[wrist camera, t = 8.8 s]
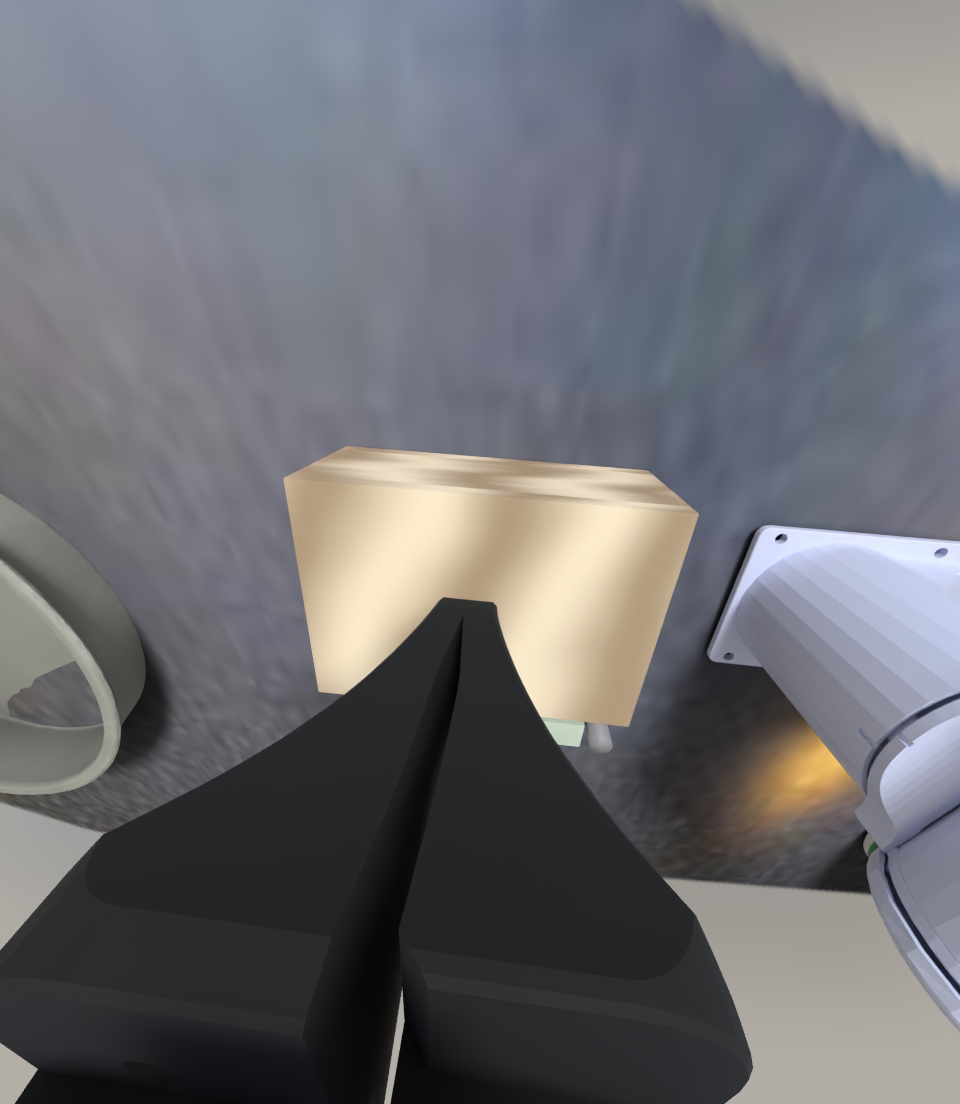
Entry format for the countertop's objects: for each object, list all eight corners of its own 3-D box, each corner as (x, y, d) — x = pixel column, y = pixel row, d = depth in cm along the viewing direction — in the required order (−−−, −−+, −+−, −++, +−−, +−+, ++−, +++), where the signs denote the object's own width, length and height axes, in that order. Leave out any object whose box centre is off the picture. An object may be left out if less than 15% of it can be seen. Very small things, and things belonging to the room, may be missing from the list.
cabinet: (647, 470, 18) (699, 514, 13) (603, 644, 22) (628, 726, 17) (346, 446, 18) (283, 477, 13) (362, 619, 23) (318, 691, 18)
